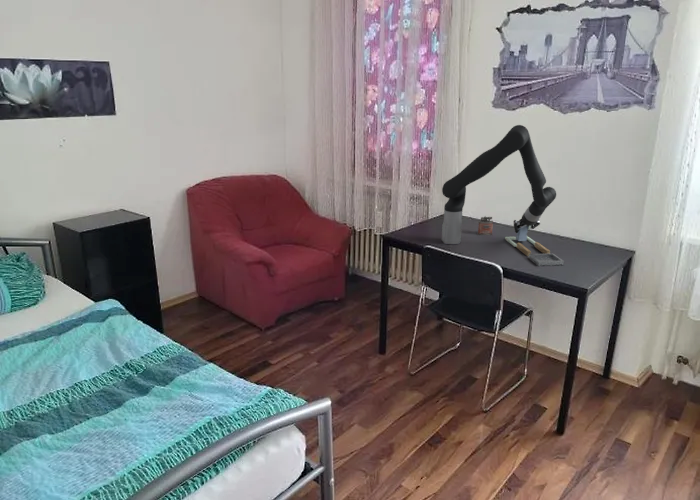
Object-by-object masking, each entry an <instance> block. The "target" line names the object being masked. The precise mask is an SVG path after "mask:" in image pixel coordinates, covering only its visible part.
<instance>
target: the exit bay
mask: <svg viewBox="0 0 700 500" xmlns="http://www.w3.org/2000/svg"><path fill="white" fill-rule="evenodd" d="M504 240H505V241H507V243H509V244H510V245H512V246H513V247H516V248H517V242H515V241H516V240H517V239H516V236H505V238H504ZM514 240H515V241H514ZM526 241H528V242H529V243H531V244H532V245H533V246H535V242H536V241H535V240H534V239H532V238H531V237H529V236H528V235H527V240H526Z"/></svg>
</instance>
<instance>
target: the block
mask: <svg viewBox="0 0 700 500" xmlns="http://www.w3.org/2000/svg"><path fill="white" fill-rule="evenodd" d="M527 231H529V230H528V226H525V227H524V228H521V229H520V230H519V232H518V233H516V236H515V237H516V240H517V241H518V242H527V241H528V240H527V236H528V232H527Z"/></svg>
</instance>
